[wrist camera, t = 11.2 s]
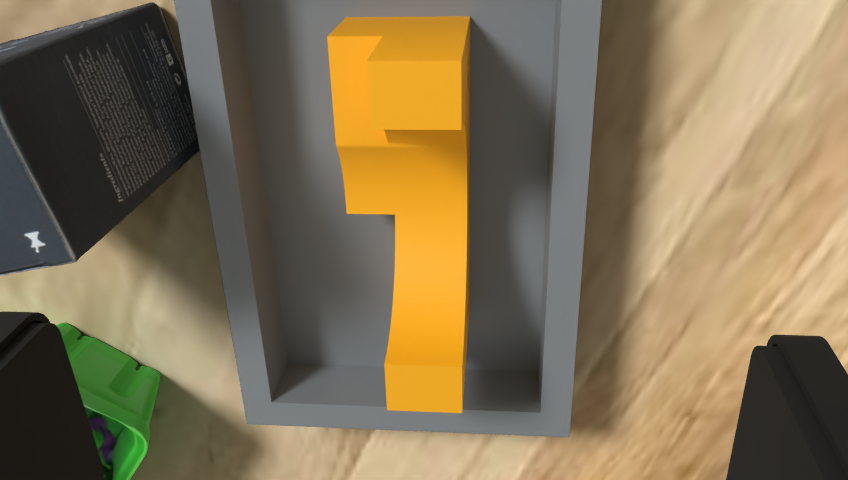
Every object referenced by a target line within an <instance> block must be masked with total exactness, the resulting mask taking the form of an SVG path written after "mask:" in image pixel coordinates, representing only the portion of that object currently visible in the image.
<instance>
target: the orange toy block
mask: <svg viewBox="0 0 848 480" xmlns="http://www.w3.org/2000/svg"><path fill="white" fill-rule="evenodd" d="M327 41H328V53H329V65H330V78H331V90H332V102H333V114H334V126H335V139H336V146H337V150H338V153H339V157H340V162H341V167H342V173H343V180H344V188H345V198H346V212H347V214H390V215H395V273H394V292H393V306H392V317H391V326H390V334H389V341H388V348H387V353H386V358H385V363H384V368H385V384H386V401H387V410H393V411H418V412H443V413H462V410H463V396H464V381H465V367H466V353H467V338H468V324H469V243H470V16H434V17H346V18H345V19H344V20H343V21H342V22H341V23H340V24H339V25H338V26H337V27H336V28H335V29H334V30H333V31H332V32H331V33H330V34H329V35H328V36H327Z"/></svg>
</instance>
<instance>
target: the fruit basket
mask: <svg viewBox="0 0 848 480" xmlns="http://www.w3.org/2000/svg"><path fill="white" fill-rule="evenodd" d="M57 327H58V328H59V330H60V332H61V335H62V338H63V341H64V344H65V347H66V351H67V354H68V357H69V360H70V363H71V366H72V370H73V373H74V376H75V379H76V382H77V385H78V388H79V392H80V395H81V398H82V401H83V404H84V407H85V411H86V414H87V417H88V420H89V423H90V426H91V429H92V433H93V436H94V439H95V442H96V445H97V448H98V452H99V455H100V458H101V461H102V464H103V480H131V478H132V476H133V475H134V473H135V472H136V470H137V469H138V467H139V465H140V464H141V462H142V461H143V459H144V457H145V456H146V454H147V451H148V446H149V441H150V430H149V426H150V422H151V418H152V413H153V409H154V405H155V401H156V396H157V392H158V388H159V383H160V378H161V374H160V373H159V372H158V371H156V370H155V369H153V368H149V367H146V366H138V363H137V362H136V361H135V360H133V359H132V358H131V357H130V356H128V355H126V354H124V353H122V352H120V351H118V350H117V349H115V348H113V347H111V346H109V345H107V344H105V343H103V342H101V341H100V340H98V339H96V338H93V337H88V336H82V335H81V333H80V332H79V331H78V330H77V329H76V328H74V327H73V326H71V325H69V324H67V323H61V324H59V325H57Z"/></svg>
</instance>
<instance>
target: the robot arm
mask: <svg viewBox="0 0 848 480" xmlns="http://www.w3.org/2000/svg"><path fill="white" fill-rule="evenodd" d="M0 480H103V464H102V461H101V458H100V455H99V452H98V448H97V445H96V442H95V439H94V436H93V433H92V429H91V426H90V423H89V420H88V417H87V414H86V411H85V407H84V404H83V401H82V398H81V395H80V392H79V388H78V385H77V382H76V379H75V376H74V373H73V370H72V366H71V363H70V360H69V357H68V354H67V351H66V347H65V344H64V341H63V338H62V335H61V332H60V330H59V328H58V327H57V326H56V325H55V324H52V323H50V322H49V319H48V318H47V317H46V316H45V315H44V314H41V313H33V312H0ZM726 480H848V374H847V373H846V371H845V369H844V368H843V366H842V365H841V363H840V361H839V360H838V358H837V356H836V355H835V353H834V352H833V350H832V348H831V347H830V345H829V344H828V342H827V341H826V340H825V339H824V338H823V337H820V336H799V335H773V336H771V337H770V339H769V341H768V343H767V346H756V347H755V348H754V349H753V351H752V355H751V359H750V364H749V369H748V374H747V379H746V384H745V389H744V394H743V399H742V404H741V409H740V414H739V419H738V424H737V429H736V434H735V439H734V444H733V449H732V454H731V459H730V464H729V469H728V474H727V479H726Z"/></svg>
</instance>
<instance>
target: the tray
mask: <svg viewBox="0 0 848 480" xmlns="http://www.w3.org/2000/svg"><path fill="white" fill-rule="evenodd" d="M174 4H175V9H176V15H177V21H178V27H179V33H180V38H181V44H182V50H183V56H184V62H185V67H186V73H187V79H188V85H189V90H190V96H191V102H192V108H193V114H194V119H195V125H196V131H197V137H198V143H199V148H200V154H201V160H202V166H203V172H204V177H205V183H206V189H207V195H208V201H209V206H210V212H211V218H212V224H213V229H214V235H215V241H216V247H217V253H218V258H219V264H220V270H221V276H222V282H223V287H224V293H225V299H226V305H227V311H228V316H229V322H230V328H231V334H232V340H233V345H234V351H235V357H236V363H237V368H238V374H239V380H240V386H241V392H242V397H243V403H244V409H245V415H246V421H247V424H257V425H282V426H306V427H331V428H355V429H380V430H404V431H429V432H453V433H478V434H502V435H527V436H551V437H570V423H571V410H572V396H573V383H574V370H575V356H576V343H577V329H578V316H579V302H580V289H581V276H582V262H583V249H584V235H585V222H586V208H587V195H588V182H589V168H590V155H591V141H592V128H593V115H594V101H595V88H596V74H597V61H598V47H599V34H600V21H601V7H602V0H174ZM434 16H470V243H469V324H468V338H467V353H466V367H465V381H464V396H463V410H462V413H443V412H418V411H393V410H387V401H386V384H385V368H384V363H385V358H386V353H387V348H388V341H389V334H390V326H391V317H392V306H393V292H394V273H395V215H390V214H347V212H346V198H345V188H344V180H343V173H342V167H341V162H340V157H339V153H338V150H337V146H336V139H335V126H334V114H333V102H332V90H331V78H330V65H329V53H328V41H327V36H328V35H329V34H330V33H331V32H332V31H333V30H334V29H335V28H336V27H337V26H338V25H339V24H340V23H341V22H342V21H343V20H344V19H345V18H346V17H434Z"/></svg>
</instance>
